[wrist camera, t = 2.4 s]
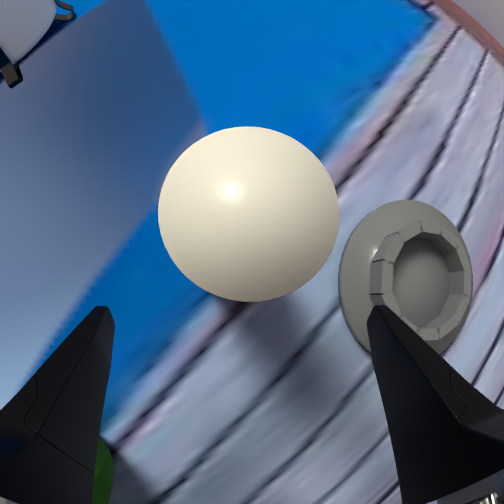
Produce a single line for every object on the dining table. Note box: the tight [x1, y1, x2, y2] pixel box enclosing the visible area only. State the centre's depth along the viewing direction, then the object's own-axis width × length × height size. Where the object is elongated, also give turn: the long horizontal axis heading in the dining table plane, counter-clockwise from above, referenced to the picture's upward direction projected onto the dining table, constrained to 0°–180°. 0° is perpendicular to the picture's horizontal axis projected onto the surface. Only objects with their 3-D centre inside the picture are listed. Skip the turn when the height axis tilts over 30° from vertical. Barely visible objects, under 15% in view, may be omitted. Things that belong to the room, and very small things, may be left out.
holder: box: [338, 200, 473, 354], centre depth 20 cm, size 12×12×3 cm
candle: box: [158, 127, 339, 302], centre depth 14 cm, size 4×4×13 cm
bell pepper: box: [92, 438, 114, 504], centre depth 13 cm, size 8×8×10 cm
